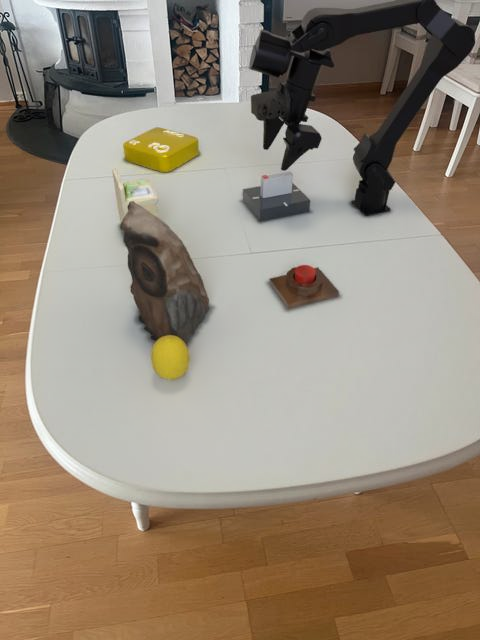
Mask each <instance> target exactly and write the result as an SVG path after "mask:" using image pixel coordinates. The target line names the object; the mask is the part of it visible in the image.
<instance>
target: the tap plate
mask: <svg viewBox="0 0 480 640" xmlns="http://www.w3.org/2000/svg"><path fill="white" fill-rule="evenodd" d="M260 192H261V185H258V186H253V187H247V188H243V189H242V202H243V203H244V205H245V207H247V208H248V210H249V211H250V212H251V213H252V214H253V216H254V217H255V219H257V221H258V222H259V223H261V222H266V221H273V220H275V219H276V220H277V219H280V218H281V219H282V218H286V217H291V216H297V215H301V214H302V215H303V214H306V213H310V206H311V199H310V198H309V197H308V196H307V195H306V194H305V193H304V192H303V191H302V190H300V188H299V187H298V186H297V185H296V184H295V183H294V182H292V193H289V194H284V195H278V196H273V197H268V198H262V196H261V195H260Z"/></svg>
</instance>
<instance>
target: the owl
mask: <svg viewBox="0 0 480 640" xmlns="http://www.w3.org/2000/svg"><path fill="white" fill-rule="evenodd" d="M127 207H128V212H127V214H126V215H125V217H124V218H123V220H122V222H120V225H119V228H120V229H121V231H122V232H123V231H124V232H123V244H124V245H125V247H126V249H127V252H128V253H127V268H128V270H129V273H130V276H131V284H130V289H129V290H130V293H131V295H132V296H133V301H134V303H135V305H136V307H137V309H138V311H139V316H138V317H137V318H138V322H139V323H142V324H143V325H144V328H143V330H144V331H146V332H148V333H149V335H150V337H149V338H150V340H152V341H155V342H156V341H157V340H158V339H159V338H161V337H163V336H166V335H174V336H177V337H179V338H180V339H182V340H183V341H184V343H185V344H186V345H187V342H189V340H190V339H189V338H190V337H191V336H192V335H194V334H195V331H196V329H197V328H198V327H199V325H200V324H201V323H203V322H204V320H205V319H206V317H207V314H208V313H209V311H210V309H211V306H210V298H209V297H208V293H207V290H206V287H205V283H204V280H203V279H202V276H201V274H200V273H199V271H198V269H197V268H196V266H195V264H194V262H193V259H192V257H191V255H190V252H189V251H188V248H187V247H186V246H185V244H184V242H183V240H182V239H181V238H180V237H179V236H178V235H177V234H176V233H175V232H174V231H173V229H172V228H171V227H170V226H169V225H168V224H167V223H166V222H164V221H163V220H161V218H159V217H158V218H157V217H156V216H154V215H153V214H151V213H150V212H148V211H147V210H146V209H144V208H143V207H142V206H140V205H138V204H136V203H135V202H134V201H131V202H129V205H128V206H127Z"/></svg>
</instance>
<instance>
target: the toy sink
mask: <svg viewBox="0 0 480 640" xmlns="http://www.w3.org/2000/svg"><path fill="white" fill-rule="evenodd" d="M111 170H112V178H113V183H114V191H115V197H116V204H117V209H118V215H119V221H120V223H121V222H122V220H123V218H124V217H125V215H126V214H127V212H128V207H127V206H128V205H129V202H131V201H134V202H135V203H136V204H138V205H140V206H142V207H143V208H144V209H146V210H147V211H148V212H150V213H151V214H153V215H154V216H156V217H157V218H159V214H158V202H159V196H158V194H157V192H156V190H155V188H154V186H153V184H152V181H151V180H150V179H140V180H136V181H135V180H134V181H125V182H123V181H122V179H121V176H120V174H119V170H118V169H117V168H112V169H111ZM122 232H123V233H124V231H123V230H122Z"/></svg>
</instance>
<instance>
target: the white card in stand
mask: <svg viewBox="0 0 480 640" xmlns="http://www.w3.org/2000/svg"><path fill="white" fill-rule="evenodd" d="M293 181H294V173H293V172H291V171H283V172H279V173H274V174H263V175H261V176H260V186H261V192H260V195H261V196H262V198H268V197H273V196H278V195H284V194H289V193H292V183H294V182H293Z"/></svg>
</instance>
